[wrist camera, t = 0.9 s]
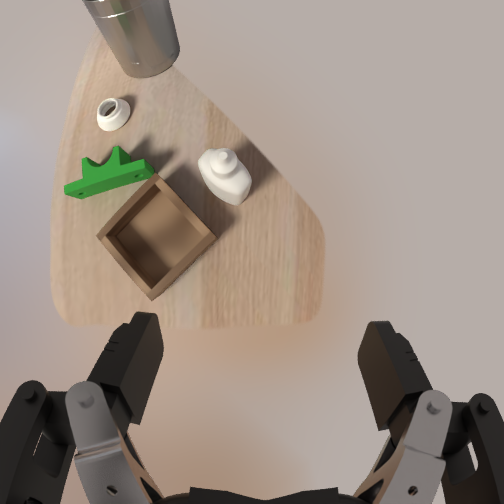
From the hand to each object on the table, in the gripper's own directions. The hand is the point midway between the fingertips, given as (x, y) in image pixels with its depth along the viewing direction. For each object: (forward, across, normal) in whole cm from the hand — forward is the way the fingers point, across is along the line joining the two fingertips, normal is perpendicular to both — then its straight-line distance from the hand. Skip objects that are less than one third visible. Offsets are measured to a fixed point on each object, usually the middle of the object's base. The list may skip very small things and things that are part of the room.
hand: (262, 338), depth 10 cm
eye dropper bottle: (+26, +4, 0) cm, 26 cm away
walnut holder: (+22, +12, +6) cm, 26 cm away
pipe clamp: (+26, +19, -1) cm, 32 cm away
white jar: (+29, +21, -10) cm, 37 cm away
